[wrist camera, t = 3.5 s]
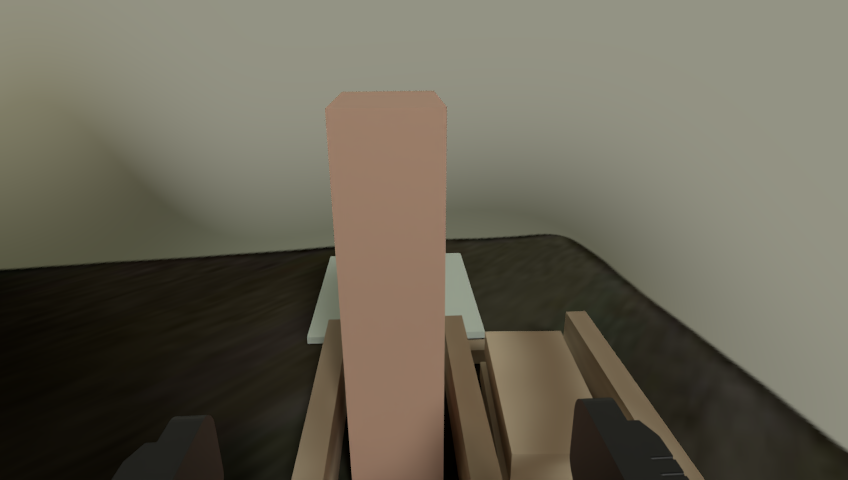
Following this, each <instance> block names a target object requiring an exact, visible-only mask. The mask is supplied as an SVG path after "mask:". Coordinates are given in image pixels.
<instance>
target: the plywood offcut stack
mask: <svg viewBox="0 0 848 480" xmlns="http://www.w3.org/2000/svg"><path fill="white" fill-rule="evenodd" d="M484 355H485V360H486V362H480V383H481V388H482V394H483V400H484V406H485V411H486V415H487V419H488V423H489V427H490V431H491V435H492V439H493V443H494V447H495V451H496V455H497V459H498V463H499V467H500V471H501V475H502V479H503V480H573V477H572V473H571V467H570V445H571V435H572V426H573V416H574V407H575V402H576V400H577V399H585V398H592V396H591V394H590V392H589V390H588V387H587V385H586V383H585V381H584V379H583V377H582V375H581V373H580V371H579V369H578V367H577V365H576V363H575V360H574V358H573V356H572V354H571V352H570V350H569V348H568V346H567V344H566V342H565V340H564V338H563V335H562V333H561V331H500V332H485V345H484Z"/></svg>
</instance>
